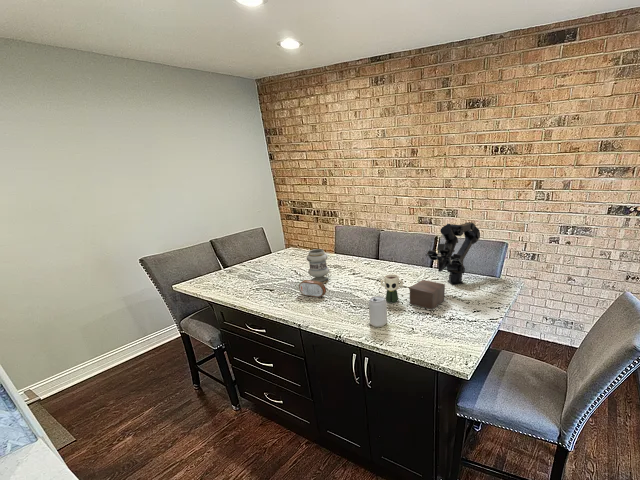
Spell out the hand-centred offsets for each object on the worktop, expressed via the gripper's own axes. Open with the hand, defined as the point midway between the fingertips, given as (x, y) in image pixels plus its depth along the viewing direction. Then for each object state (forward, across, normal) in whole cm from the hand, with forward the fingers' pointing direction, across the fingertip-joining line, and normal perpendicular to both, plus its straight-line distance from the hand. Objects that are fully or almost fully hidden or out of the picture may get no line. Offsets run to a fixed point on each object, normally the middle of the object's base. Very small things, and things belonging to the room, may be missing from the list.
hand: (439, 271), depth 172 cm
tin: (+35, -55, -17) cm, 67 cm away
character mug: (+23, -16, -6) cm, 29 cm away
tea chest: (+18, 0, 0) cm, 18 cm away
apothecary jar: (+21, -70, -3) cm, 73 cm away
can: (+40, -6, -23) cm, 46 cm away
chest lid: (+12, 0, -6) cm, 13 cm away
